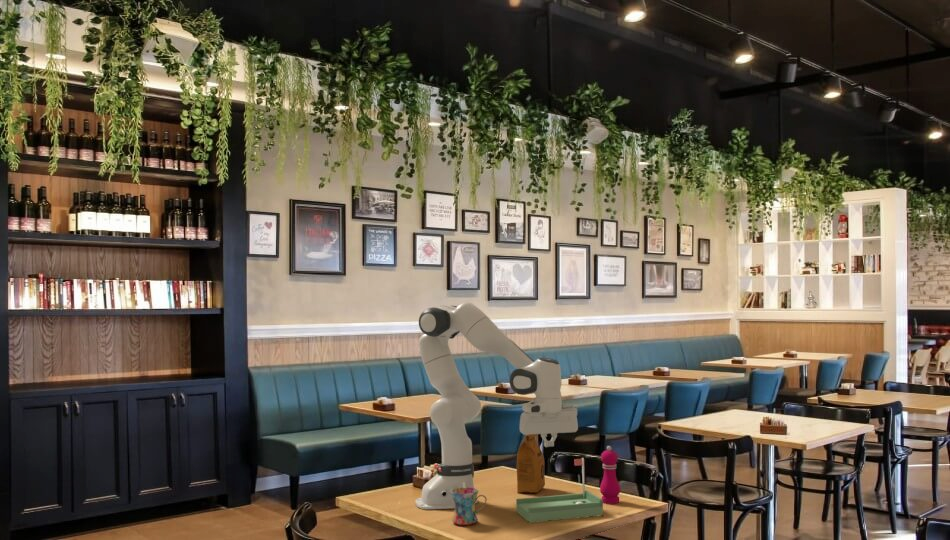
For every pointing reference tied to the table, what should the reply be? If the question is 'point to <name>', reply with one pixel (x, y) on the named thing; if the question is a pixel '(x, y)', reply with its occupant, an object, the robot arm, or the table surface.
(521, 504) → the green
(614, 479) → the pepper mill
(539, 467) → the coffee package
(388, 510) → the table surface
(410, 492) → the table surface
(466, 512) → the mug
